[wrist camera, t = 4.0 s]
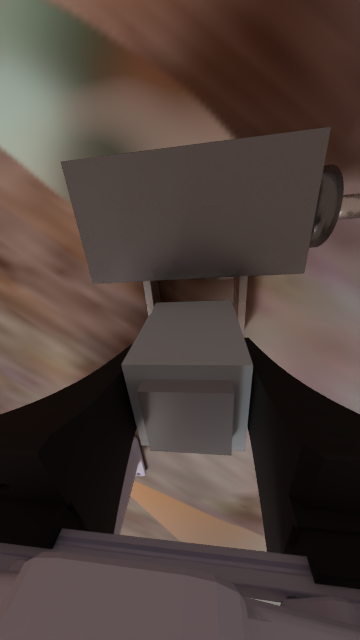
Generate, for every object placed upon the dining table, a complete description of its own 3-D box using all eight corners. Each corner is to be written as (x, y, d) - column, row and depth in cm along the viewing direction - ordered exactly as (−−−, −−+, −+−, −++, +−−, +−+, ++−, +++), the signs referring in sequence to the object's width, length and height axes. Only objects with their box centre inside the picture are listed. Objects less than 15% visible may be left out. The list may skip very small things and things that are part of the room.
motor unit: (134, 340, 20) (116, 372, 15) (101, 178, 14) (60, 161, 10) (311, 338, 18) (343, 374, 14) (355, 148, 12) (432, 113, 8)
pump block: (164, 362, 15) (137, 459, 9) (156, 302, 13) (114, 376, 7) (229, 362, 14) (247, 466, 8) (231, 300, 12) (257, 377, 6)
